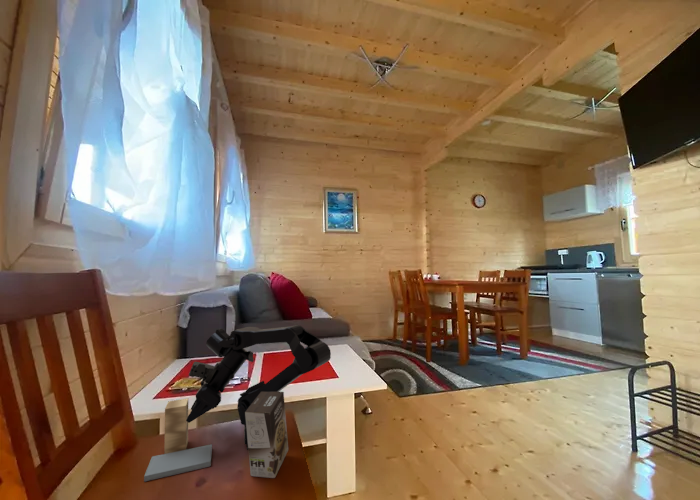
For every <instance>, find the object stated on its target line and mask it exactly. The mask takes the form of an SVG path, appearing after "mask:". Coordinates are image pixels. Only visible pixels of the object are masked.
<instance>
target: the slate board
mask: <svg viewBox="0 0 700 500" xmlns="http://www.w3.org/2000/svg"><path fill="white" fill-rule="evenodd" d="M212 452H213V444H212V443H211V444H206V445H201V446H198V447H197V446H196V447H193V448H186V450H182V451H177V452H172V453H167V454H163V453H162V454H158V455H152V456H151V459H150V461H149V464H148V466H147V468H146V471H145V474H144V476H143V482H144V483H145V482H148V481H154V480H157V479H161V478H166V477H171V476H175V475H179V474H183V473H188V472H192V471H196V470H200V469H201V470H202V469H204V468H209V467H211V464H212V456H213V455H212V454H213V453H212Z"/></svg>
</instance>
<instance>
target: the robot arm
mask: <svg viewBox="0 0 700 500" xmlns="http://www.w3.org/2000/svg"><path fill="white" fill-rule="evenodd" d="M276 343H278V344H279V343H287V344H288V346H289V349H290V351H291V355H292V356H293V357H294V358H293V361H292V362H291V364H289V365H288V366H287V367H286V368H284V369H282V370H281V371H280V372H279V373H278V374H276V375H275V376H273V377H272V378H271V379H270V380H269V381H267V382H265V381H264V380H262V381H260V382H257V383H256V384H253V385H251V386H249V387H248V388H247V389H246V390H245V391H244V392H242V393H240V394H239V396H240V397H239V398H238V400H237V413H238V416H239V419H240V423H241V425H243V426H244V427H243V428H244V431H243V434H244V435H243V436H244V437H243V439H244V440H243V441H244V445H246V450H248V440H247V429H246V417H245V412H246V410H247V409H248V408H249V406H250V405H251V404H252V403H253V401H254V400H255V399H256V397H257V396H258V395H259V394H260V392H281V391H282V390H283V389H285V388H286V387H287V386H289V385H290V384H291V383H292V382H294V381H295V380H297V379H298V378H299V377H301V376H302V375H304V374H307V373H309V372H311V371H314V370H315V369H317V368H319V367H321V366H323V365H324V364H326V363H328V362H329V361H330V359H331V358H332V356H331V349H330V347H329V345H328V344H327V343H325V342H323V341H322V340H321V339H320V338H319V337H318V336H316V335H315V334H313V333H311V332H309V331H307V330H306V329H305V328H304V327H303V326H302V325H299V324H294V325H291V326H282V327H281V326H280V327H272V328H271V327H270V328H264V329H263V328H260V327H257V326H247V327H242V328H238V329H234V330H232V331H231V332H230V334H228V333H227V332H226V331H225V330H224V329H223V328H219V329H216V330H215V332H214V333H212V334H211V335H210V336H209V338H207V340H206V344H205V345H206V347H207V348H208V349H209V350H210V351H212V352H213V353H214V354H215V355H216V356H217V357H218V358H222V359H221V360H220V361H219V362H216V364H215V365H212V364H207V363H204V362H199V361H194V362H192V366H191V368H190V370H189V373H188V377H192V378H200V379H201V381H200V387H199V389H198V390H197V392H196V393H195V400H194V402H193V404H192V405H191V407H190V410H191V411H190V412H189V413H188V418H187V419H186V421H187V422H188V424H190V423H191V422H193V421H195V420H196V419H198V418H200V417H202V416H203V415H204V414H206V413H208V412H210V411H211V410H213V409H215V408H217V407H218V406H219V404H220V403H221V402H222V393H223V392H224V391H225V388H226V387H227V386H228V384H229V383H230V381H232V380H233V379H234V378H235V375H236V374H237V373H238V371H239V370H240V368H241V367H242V366H243V365H244V363H245V362H246V361H248V362H251V363H254V352H253V351H251V350H248V351H247V350H246V348H249V347H252V346H255V345H264V344H265V345H266V344H276ZM302 344H303V345H306V346H305V347H304V346H303V345H302Z"/></svg>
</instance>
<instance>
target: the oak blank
mask: <svg viewBox="0 0 700 500" xmlns="http://www.w3.org/2000/svg"><path fill="white" fill-rule="evenodd" d="M188 416H189V398H181V399H175V400H170V401H168V402H167V404H166V406H165V408H164V454H167V453H172V452H177V451H182V450H186V449H188V444H189V423H188V422H187V421H186V419H187V418H188Z"/></svg>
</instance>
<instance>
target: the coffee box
mask: <svg viewBox="0 0 700 500" xmlns="http://www.w3.org/2000/svg"><path fill="white" fill-rule="evenodd" d="M284 393H285V392H284V391H279V392H260V394H259V395H258V396H257V397H256V399H255V400H254V401H253V403H252V404H251V405H250V406H249V408H248V409H247V410H246V412H245V417H246V429H247V440H248V451H247V452H248V459H249V460H248V461H249V472H250V473H249V474H250V476H251V477H257V478H258V477H259V478H267V479H269V478H270V479H276V476H277V474H278V472H279V471H280V468H281V466H282V464H283V463H284V460H285V458H286V456H287V453H288V452H289V441H288V431H287V429H288V428H287V416H286V405H285V394H284Z"/></svg>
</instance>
